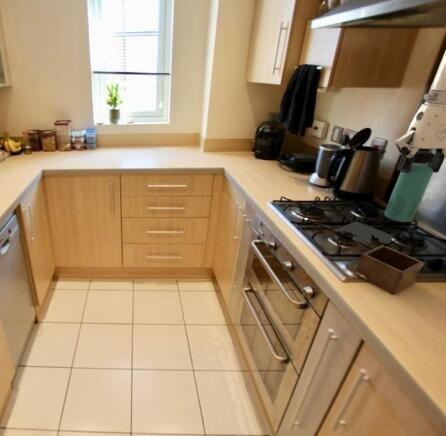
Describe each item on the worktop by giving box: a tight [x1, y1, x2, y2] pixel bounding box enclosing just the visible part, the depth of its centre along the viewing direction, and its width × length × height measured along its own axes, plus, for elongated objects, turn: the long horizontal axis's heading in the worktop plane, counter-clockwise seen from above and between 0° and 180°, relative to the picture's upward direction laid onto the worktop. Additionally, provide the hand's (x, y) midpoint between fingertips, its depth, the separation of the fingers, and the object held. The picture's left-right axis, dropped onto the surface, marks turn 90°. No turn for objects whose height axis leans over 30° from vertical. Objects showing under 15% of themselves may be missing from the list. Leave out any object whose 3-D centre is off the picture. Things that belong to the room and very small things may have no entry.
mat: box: [332, 220, 393, 244], centre depth 109 cm, size 14×14×1 cm
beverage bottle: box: [384, 150, 435, 223], centre depth 84 cm, size 6×7×20 cm
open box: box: [355, 245, 425, 296], centre depth 87 cm, size 10×10×7 cm
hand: (417, 170), depth 82 cm, fingers closed on beverage bottle, 6 cm apart
